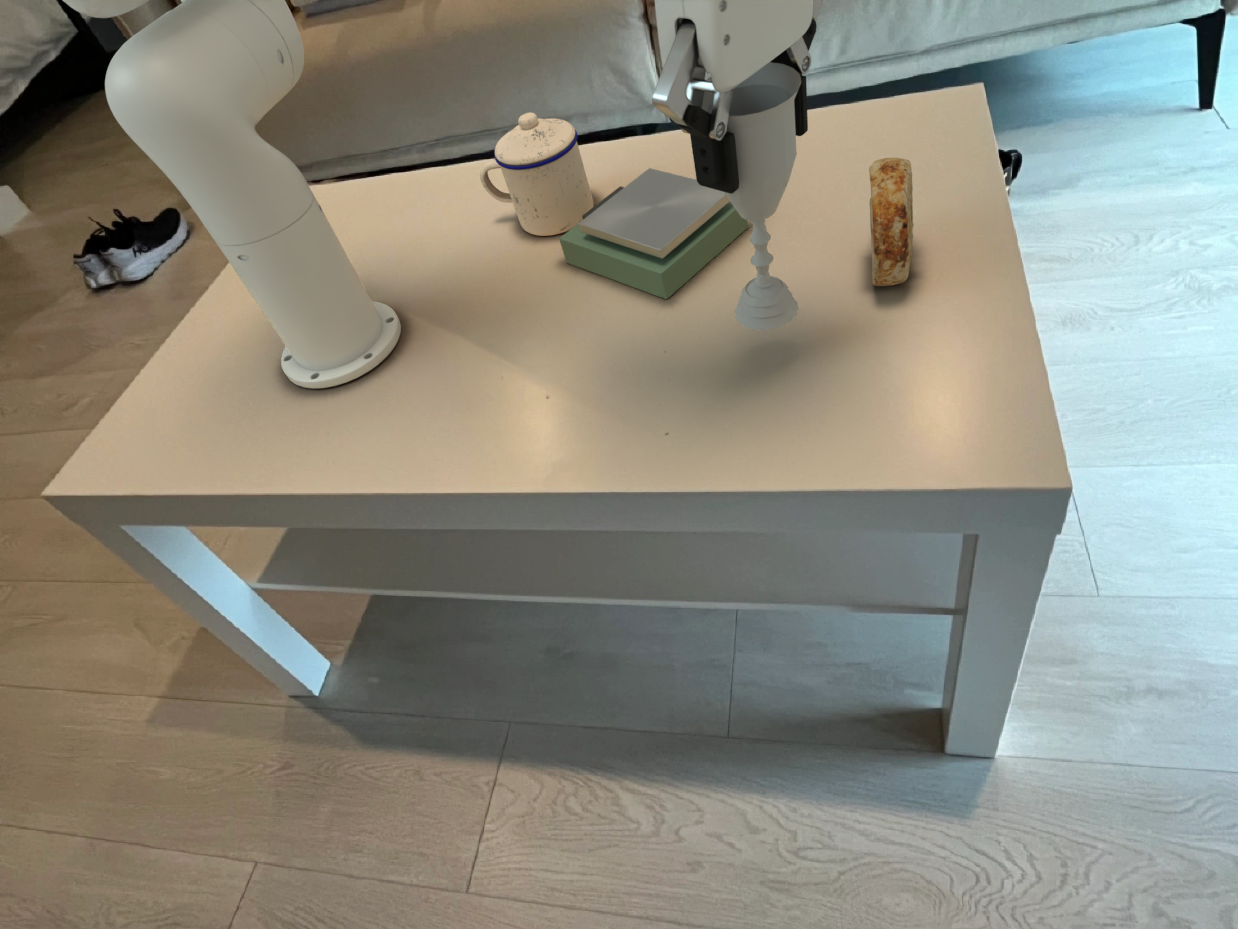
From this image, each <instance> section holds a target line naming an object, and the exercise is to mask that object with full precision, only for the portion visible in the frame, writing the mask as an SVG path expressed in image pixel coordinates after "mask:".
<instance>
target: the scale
mask: <svg viewBox="0 0 1238 929" xmlns="http://www.w3.org/2000/svg"><path fill="white" fill-rule="evenodd" d="M623 188H624V186H621V185H620V186H619V187H617V188H616V189H614V190H613V191H612V192H611V193H609V194H608V195H607V196H606V197H604V198H603V199H601V200H600V201H599V202H598V203H596V204H595V205H594V206H593V208H591V209H590V210H589V211H588V212H586V213H585V214H584V215H582V217H583V219H585V218H586V217H587V216H588V215H590V214H591V213H592V212H594V211H595V210H596V209H597V208H599V207H600V206H601V205H603V204H604V203H605V202H606V201H608V200H609V199H610V198H612V197H613V196H614V195H615V194H617V193H618V192H619V191H621V190H622V189H623ZM748 228H749V220H745V219H743V218H742V217H741V216H740V215H739V213H738V212H737V210H736V209H735V208H734V206H733V205H732V203H731V202H728V203H727V204H726V205H725V206H724V207H722V208H721V209H720V210H719V211H718V212H717V213H715V214H714V215H713V216H712V217H711V218H710V219H708V220H707V221H706V222H705V223H704V224H703V225H701V226H700V227H699V228H698V229H697V230H696V231H694V232H693V233H692V234H691V235H690V236H689V237H687V238H686V239H685V240H684V241H683V242H681V243H680V244H679V245H678V246H677V247H676V248H674V249H673V250H672V251H671V252H670V253H669V254H667V255H666V256H665V257H664V258H663V259H661V258H658V257H655V256H652V255H649V254H646V253H643V252H640V251H637V250H634V249H631V248H628V247H625V246H622V245H619V244H616V243H613V242H610V241H607V240H604V239H601V238H598V237H595V236H592V235H589V234H586V233H583V232H581V231H580V228H579V225H578V224H577V225H576V226H575V227H573V228H572V229H571V230H569V231H566V232H565V233H563V235H562V236H561V237H559V238H558V240H559V243H560V246H561V250H562V252H563V255H564V259H565V262H566V263H567V264H569V265H572V266H574V267H577V268H580V269H582V270H585V271H588V272H591V273H593V274H596V275H599V276H602V277H604V278H606V279H609V280H613V281H615V282H618V283H621V284H623V285H627V286H629V287H631V288H634V289H637V290H640V291H642V292H645V293H647V294H651V295H653V296H656V297H659V298H662V299H664V300H668V299H669V298H670V297H671V296H673V295H674V294H675V293H676V292H677V291H678V290H680V288H681V287H683V286H684V285H685V284H686V283H687V282H689V281H690V280H691V279H692V278H693V277H694V276H695V275H696V274H697V273H699V271H701V270H702V269H703V268H705V266H706V265H707V264H709V263H710V262H711V261H712V260H713V259H715V257H716V256H718V255H719V254H720V253H721V252H722V251H723V250H725V249H726V248H727V247H728V246H729V245H731V243H732V242H734V241H735V240H736V239H737V238H738V237H739V236H740V235H741V234H743V233H744V232H745V231H746V230H747V229H748Z"/></svg>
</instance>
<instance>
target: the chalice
mask: <svg viewBox="0 0 1238 929" xmlns="http://www.w3.org/2000/svg"><path fill="white" fill-rule="evenodd" d="M706 80H711V81H712V78H711V76H710V77H708V78H707V79H706ZM800 84H801V77H800V74H799V73H798V72H797V71H796V70H795V69H794V68H792V67H789V66H787V65H784V64H780V63H772V62H769V63H768V64H766V65H765V66H764V67H762V68H761V69H760V70H758V71H757V72H756V73H754V74H753V75H752V76H750V77H749V78H748V79H746V80H745V81H744V82H742V83H741V84H739V85H738V86H736V87H735V88H734V92H733V98H732V103H731V109H730V114H729V119H728V125H727V130H726V132H731V133H734V136H735V145H736V155H737V165H738V175H739V189H737V190H736V191H735V192H734V193H732V194H730V193H726V192H724V193H725V195H726V196H727V197H728V199H729V200H730V202H731V203H732V205H733V206H734V208H735V209H736V210H737V212H738V213H739V215H740V216H741V217H742V218H743V219H745V220H748V222H751V223H752V225H753V226H752V231H751V235H750V236H749V242H750V243H751V244H752V245H753V248H754V249H755V250H754V254H753V255H752V256H751V257H750V264H751V265H753V267H755V269H756V277H754V278H752V279H751V280H750V281H748V282H747V284H746V285H745V286H743V288H742V290H741V293H740V295H739V296H740V297H739V298H738V302H737V305H736V307H735V310H734V317H735V319H736V321H737V322H738V324H740V325H742V326H743V327H744V328H746V329H749V330H752V331H770V330H771V331H772V330H776V329H779V328H782V327H785V326H786V325H787V324H789V323H790V322H792V321H793V320H794V318H796V316H797V314H798V311H799V305H798V301H797V300H796V298H795V297H794V296H793V293H792V292H791V291H790V289H789V286H788V285H787V283H786V282H785V281H783V280H782V279H781V278H779V277H777V276H773V275H771V274H770V272H769V269H770V264H772V262H773V261H774V256H773V254H771V253H770V252H769V250H768V244H769V242H770V240H771V239H772V238H771V237H772V236H771V234H770V233H769V232H768V230H767V226H766V219H768V218H771V217H772V216H773V215H774V214H775V213H776V212H777V210H778V207H779V204H780V203H781V200H782V198H783V195H784V194H785V191H786V188H787V187H788V184H789V181H790V178H791V176H792V171H793V168H794V165H795V160H796V158H797V136H796V130H795V107H794V99H795V97H796V94H797V92H798V89H799V87H800ZM714 94H715V93H712V92H707V91H704V97H703V103H702V109H703V110H705V111H706V112H708V113H709V114H711V111H712V106H713V100H714Z"/></svg>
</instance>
